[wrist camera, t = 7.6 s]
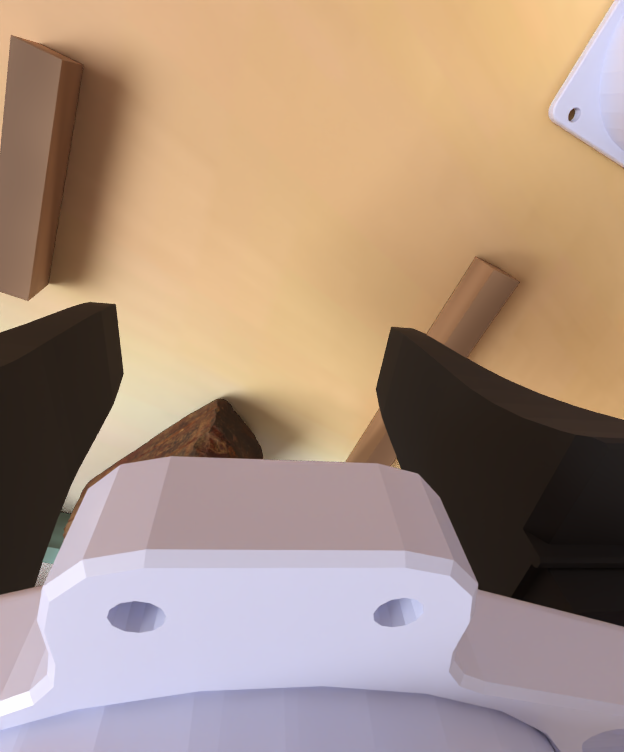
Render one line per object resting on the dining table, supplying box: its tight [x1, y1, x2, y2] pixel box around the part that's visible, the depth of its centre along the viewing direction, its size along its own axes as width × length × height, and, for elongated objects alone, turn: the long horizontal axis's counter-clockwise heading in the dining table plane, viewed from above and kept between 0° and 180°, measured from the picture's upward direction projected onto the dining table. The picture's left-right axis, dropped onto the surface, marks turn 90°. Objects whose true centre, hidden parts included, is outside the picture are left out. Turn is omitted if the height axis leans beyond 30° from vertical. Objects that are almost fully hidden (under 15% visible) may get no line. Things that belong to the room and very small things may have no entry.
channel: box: [0, 35, 520, 564], centre depth 22 cm, size 29×26×2 cm
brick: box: [63, 399, 263, 541], centre depth 24 cm, size 11×4×5 cm, turn 125°
